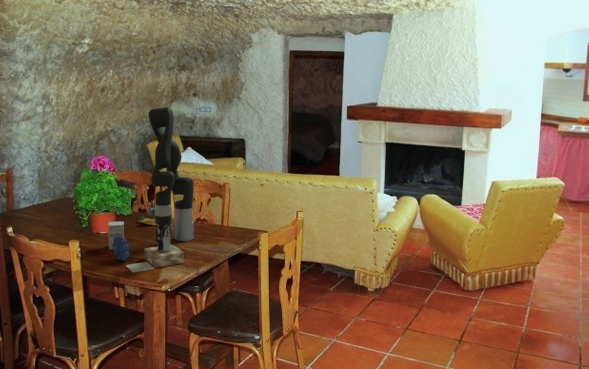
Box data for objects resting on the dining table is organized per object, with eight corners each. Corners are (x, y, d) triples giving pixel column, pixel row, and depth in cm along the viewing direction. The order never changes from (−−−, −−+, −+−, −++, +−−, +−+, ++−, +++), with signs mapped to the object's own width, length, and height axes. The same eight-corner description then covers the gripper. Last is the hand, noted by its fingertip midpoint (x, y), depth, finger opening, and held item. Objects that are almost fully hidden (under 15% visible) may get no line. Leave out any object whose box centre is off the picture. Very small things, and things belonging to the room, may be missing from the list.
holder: (172, 254, 286) (172, 244, 285) (183, 262, 275) (183, 252, 274) (144, 258, 278) (144, 248, 278) (155, 267, 267) (155, 256, 266)
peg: (166, 258, 280) (166, 234, 277) (170, 261, 276) (170, 236, 274) (157, 260, 277) (157, 235, 275) (161, 262, 274) (160, 238, 271)
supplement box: (108, 250, 289) (107, 225, 287) (109, 245, 296) (108, 221, 294) (124, 249, 291) (123, 224, 289) (124, 244, 298) (123, 220, 296)
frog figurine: (147, 219, 348) (149, 195, 344) (168, 228, 338) (170, 203, 335) (134, 222, 340) (136, 198, 337) (155, 231, 331) (157, 206, 327)
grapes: (105, 259, 276) (105, 234, 274) (118, 256, 281) (117, 231, 279) (120, 265, 269) (119, 239, 266) (132, 261, 274) (132, 236, 271)
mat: (146, 262, 273) (146, 261, 273) (154, 269, 265) (154, 268, 265) (125, 266, 268) (125, 265, 267) (133, 272, 259) (132, 271, 259)
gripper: (160, 209, 279) (161, 242, 283) (150, 217, 266) (150, 251, 269) (175, 210, 279) (176, 243, 282) (166, 217, 265) (166, 252, 268)
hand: (163, 247), depth 275 cm, fingers open, 8 cm apart
